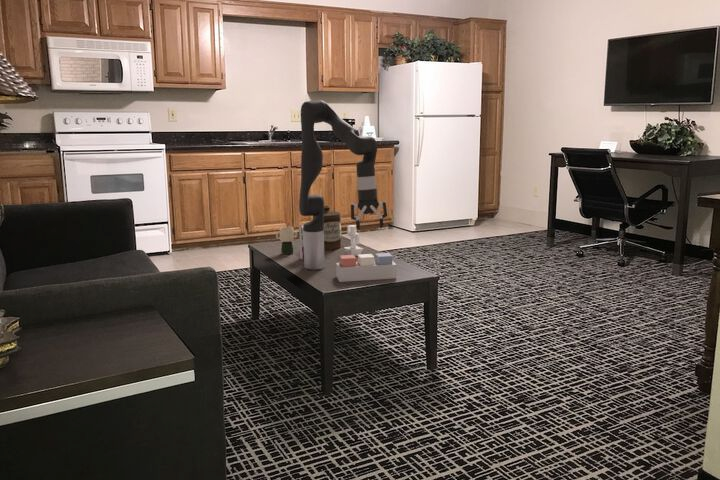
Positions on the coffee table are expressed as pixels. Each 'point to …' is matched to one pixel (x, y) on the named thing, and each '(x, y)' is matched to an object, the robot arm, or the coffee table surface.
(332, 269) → the coffee table surface
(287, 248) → the character mug
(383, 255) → the blue key
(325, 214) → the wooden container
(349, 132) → the robot arm
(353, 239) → the figurine
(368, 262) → the cream white block
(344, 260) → the red key
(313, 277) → the coffee table surface
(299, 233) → the candy bar box
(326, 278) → the coffee table surface
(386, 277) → the control box
